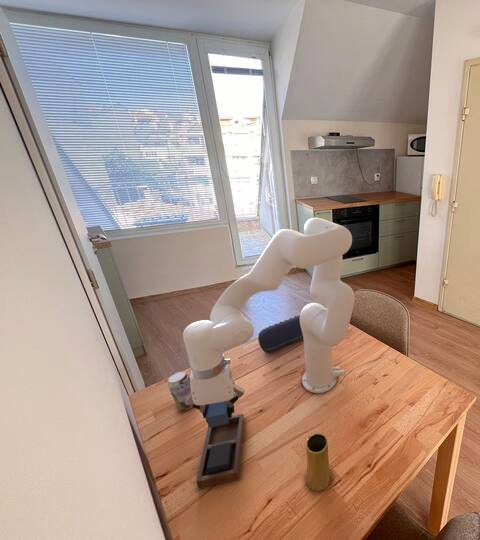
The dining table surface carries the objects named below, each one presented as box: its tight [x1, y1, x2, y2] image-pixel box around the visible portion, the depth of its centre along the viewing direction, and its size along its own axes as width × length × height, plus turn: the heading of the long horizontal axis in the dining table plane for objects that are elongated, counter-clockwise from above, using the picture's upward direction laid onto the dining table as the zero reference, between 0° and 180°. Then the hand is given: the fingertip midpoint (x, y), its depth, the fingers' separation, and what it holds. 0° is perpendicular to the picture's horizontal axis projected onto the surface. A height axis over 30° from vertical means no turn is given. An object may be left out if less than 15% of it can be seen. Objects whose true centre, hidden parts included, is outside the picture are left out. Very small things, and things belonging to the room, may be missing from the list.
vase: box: [305, 432, 331, 492], centre depth 74 cm, size 6×6×14 cm
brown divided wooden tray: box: [195, 413, 245, 490], centre depth 82 cm, size 10×18×3 cm, turn 15°
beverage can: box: [167, 370, 193, 411], centre depth 95 cm, size 6×7×12 cm
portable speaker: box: [257, 314, 303, 353], centre depth 126 cm, size 25×10×10 cm, turn 130°
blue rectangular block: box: [205, 401, 229, 428], centre depth 82 cm, size 5×6×4 cm
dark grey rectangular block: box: [207, 442, 233, 475], centre depth 78 cm, size 5×6×4 cm
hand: (219, 415), depth 83 cm, fingers closed on blue rectangular block, 5 cm apart
